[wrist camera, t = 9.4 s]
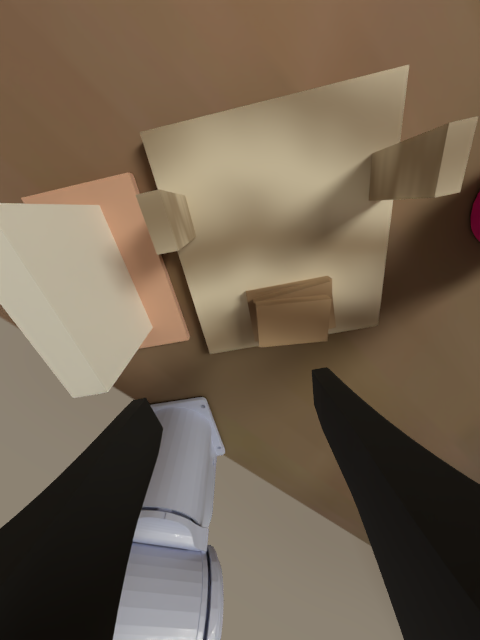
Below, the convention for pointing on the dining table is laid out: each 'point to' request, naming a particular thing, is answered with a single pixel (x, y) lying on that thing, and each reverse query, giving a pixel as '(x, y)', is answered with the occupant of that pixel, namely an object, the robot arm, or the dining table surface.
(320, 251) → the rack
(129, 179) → the mat
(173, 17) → the dining table surface
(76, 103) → the dining table surface
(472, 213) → the pepper mill
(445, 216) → the dining table surface
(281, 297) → the offcut stack
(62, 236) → the white upright panel
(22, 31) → the dining table surface
